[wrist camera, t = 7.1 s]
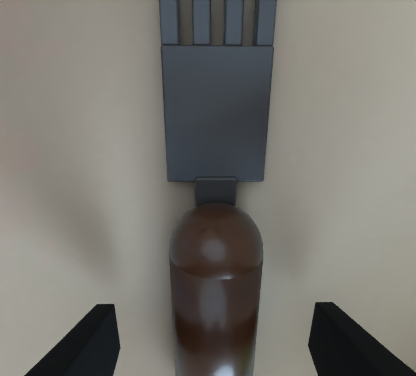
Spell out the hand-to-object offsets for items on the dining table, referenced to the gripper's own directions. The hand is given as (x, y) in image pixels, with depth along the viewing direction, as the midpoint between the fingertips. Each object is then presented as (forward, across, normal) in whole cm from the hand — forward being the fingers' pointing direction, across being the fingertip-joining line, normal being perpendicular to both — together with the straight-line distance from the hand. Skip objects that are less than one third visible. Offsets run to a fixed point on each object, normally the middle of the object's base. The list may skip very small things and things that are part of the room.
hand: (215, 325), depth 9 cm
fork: (+2, 0, -4) cm, 4 cm away
